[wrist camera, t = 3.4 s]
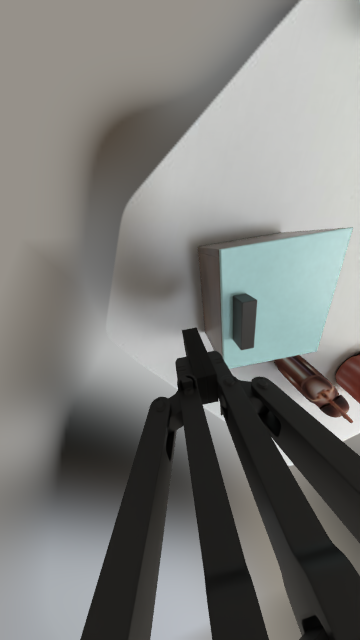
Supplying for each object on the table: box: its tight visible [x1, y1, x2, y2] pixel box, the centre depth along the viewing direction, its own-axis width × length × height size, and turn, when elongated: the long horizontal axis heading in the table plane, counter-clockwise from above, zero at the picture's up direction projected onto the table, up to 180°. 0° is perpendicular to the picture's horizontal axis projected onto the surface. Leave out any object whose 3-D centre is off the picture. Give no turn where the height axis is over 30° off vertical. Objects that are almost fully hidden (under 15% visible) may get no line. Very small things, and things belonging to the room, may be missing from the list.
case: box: [198, 228, 343, 357], centre depth 25 cm, size 16×14×10 cm
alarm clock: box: [274, 355, 353, 423], centre depth 32 cm, size 11×5×15 cm, turn 47°
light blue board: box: [219, 227, 353, 369], centre depth 19 cm, size 16×14×3 cm
